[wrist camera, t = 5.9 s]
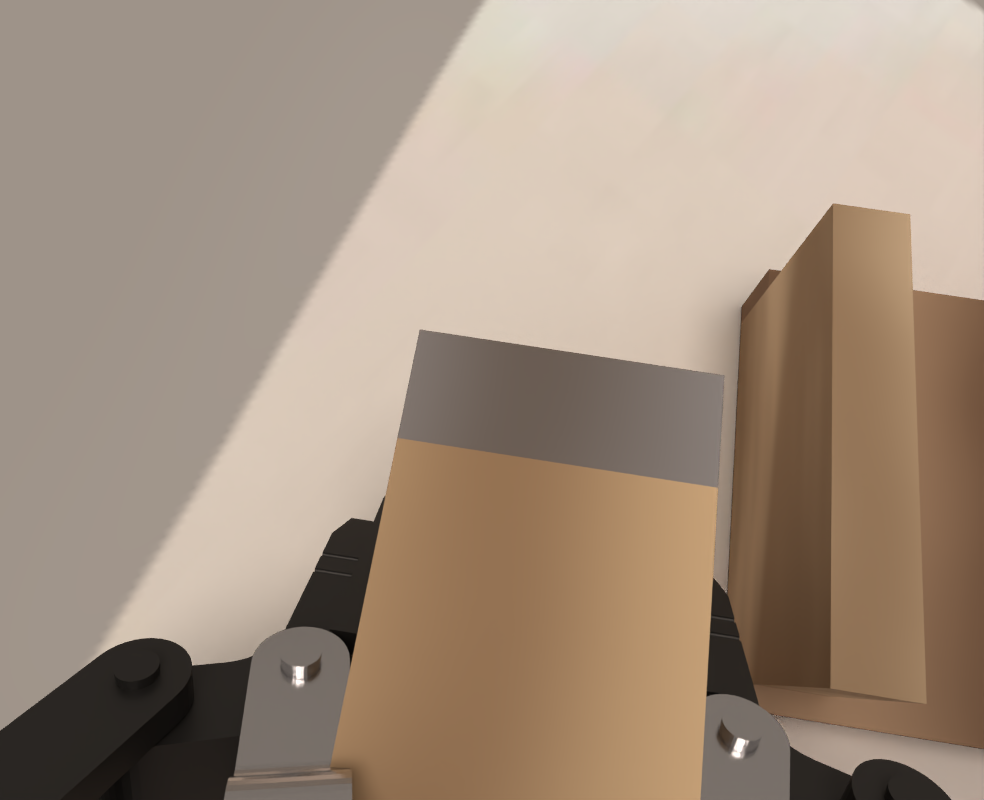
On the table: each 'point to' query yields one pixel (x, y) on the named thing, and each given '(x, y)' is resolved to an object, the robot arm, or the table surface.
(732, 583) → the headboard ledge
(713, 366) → the table surface
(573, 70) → the table surface
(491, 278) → the table surface
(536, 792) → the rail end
